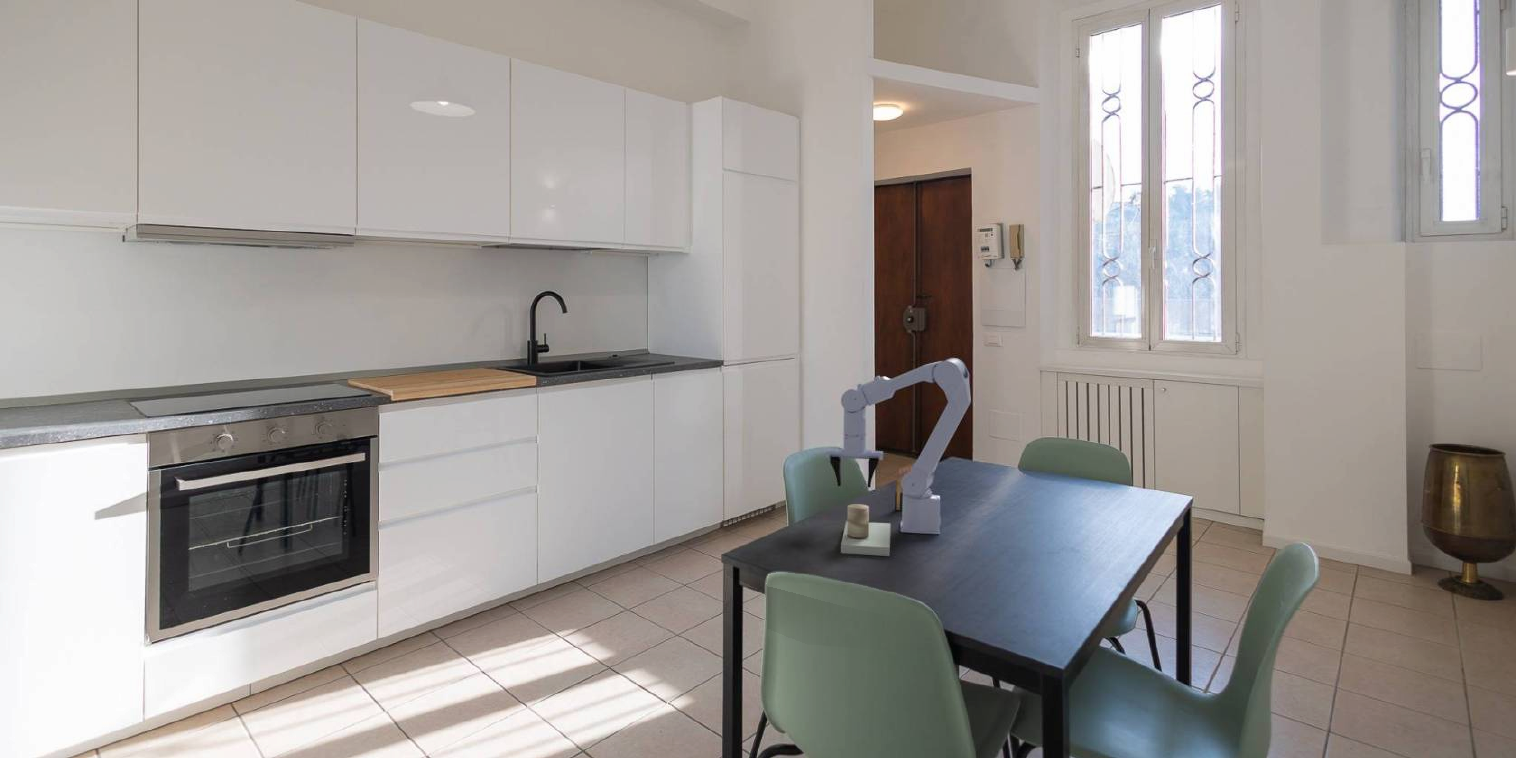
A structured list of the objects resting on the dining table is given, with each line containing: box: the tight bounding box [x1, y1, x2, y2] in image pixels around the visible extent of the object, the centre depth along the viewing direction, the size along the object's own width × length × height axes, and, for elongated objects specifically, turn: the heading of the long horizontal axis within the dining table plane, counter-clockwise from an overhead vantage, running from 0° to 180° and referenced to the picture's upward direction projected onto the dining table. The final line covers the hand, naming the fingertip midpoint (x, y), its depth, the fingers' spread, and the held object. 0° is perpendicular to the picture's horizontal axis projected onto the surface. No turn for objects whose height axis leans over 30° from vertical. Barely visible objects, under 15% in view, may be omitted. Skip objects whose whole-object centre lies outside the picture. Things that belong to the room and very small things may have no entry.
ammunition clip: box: [894, 462, 915, 512], centre depth 209 cm, size 11×2×12 cm, turn 138°
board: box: [840, 520, 891, 557], centre depth 180 cm, size 11×18×2 cm, turn 169°
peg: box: [846, 503, 870, 539], centre depth 178 cm, size 5×5×9 cm
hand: (854, 485), depth 196 cm, fingers open, 7 cm apart
